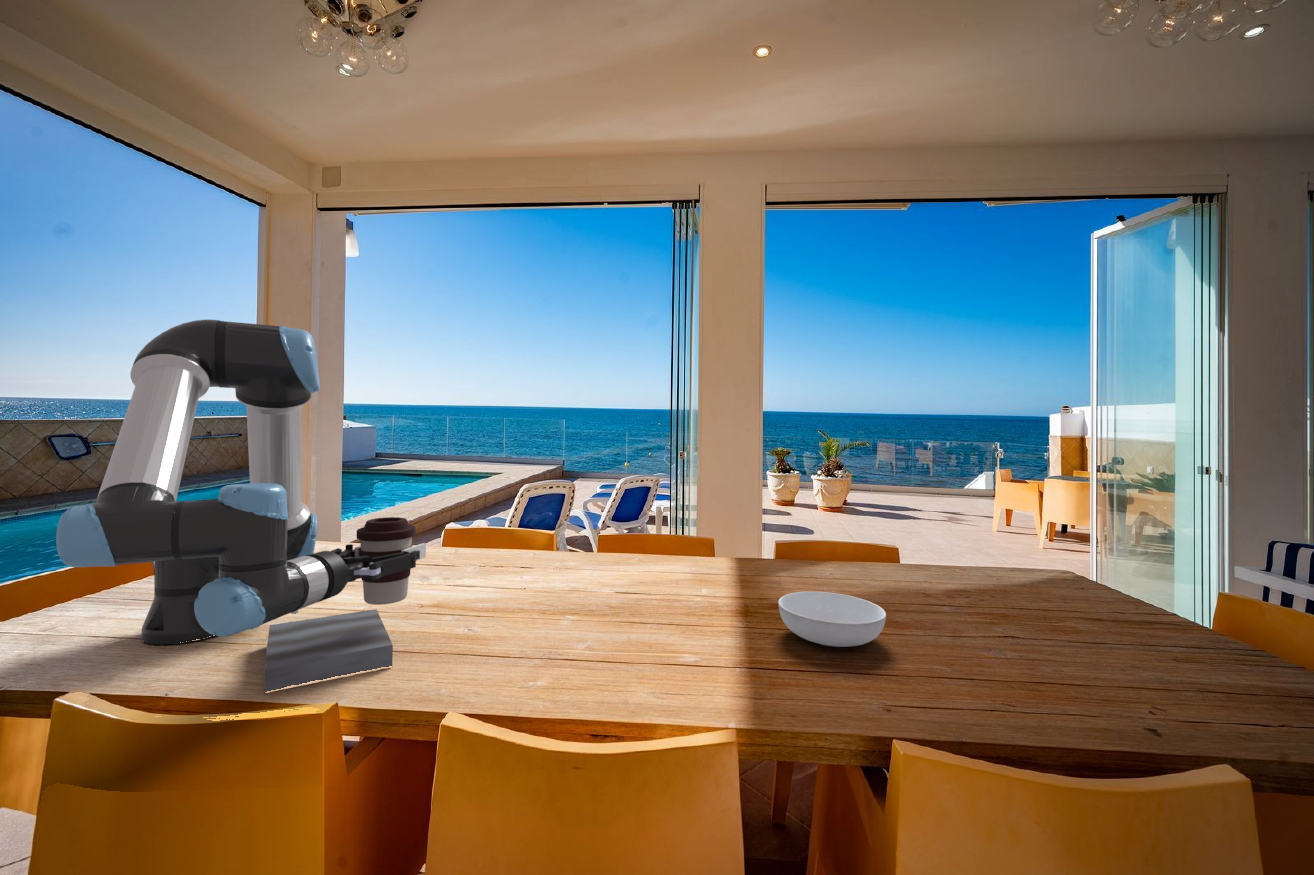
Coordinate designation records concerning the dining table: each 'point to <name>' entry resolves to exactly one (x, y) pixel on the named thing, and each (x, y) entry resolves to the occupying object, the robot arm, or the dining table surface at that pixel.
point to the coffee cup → (380, 541)
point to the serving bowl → (831, 618)
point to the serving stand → (325, 648)
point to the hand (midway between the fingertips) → (401, 549)
